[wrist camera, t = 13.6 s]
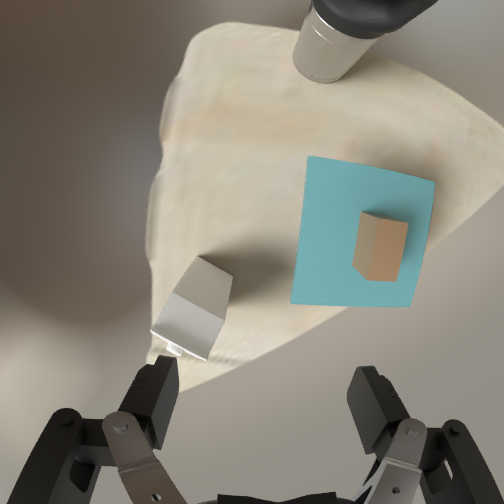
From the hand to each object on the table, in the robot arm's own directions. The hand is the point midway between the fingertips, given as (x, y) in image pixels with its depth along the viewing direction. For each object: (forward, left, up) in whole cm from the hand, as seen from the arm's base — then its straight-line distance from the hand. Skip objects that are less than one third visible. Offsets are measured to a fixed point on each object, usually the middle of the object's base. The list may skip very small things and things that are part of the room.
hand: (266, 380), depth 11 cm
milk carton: (+10, -8, -34) cm, 37 cm away
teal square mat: (-3, +12, -19) cm, 23 cm away
